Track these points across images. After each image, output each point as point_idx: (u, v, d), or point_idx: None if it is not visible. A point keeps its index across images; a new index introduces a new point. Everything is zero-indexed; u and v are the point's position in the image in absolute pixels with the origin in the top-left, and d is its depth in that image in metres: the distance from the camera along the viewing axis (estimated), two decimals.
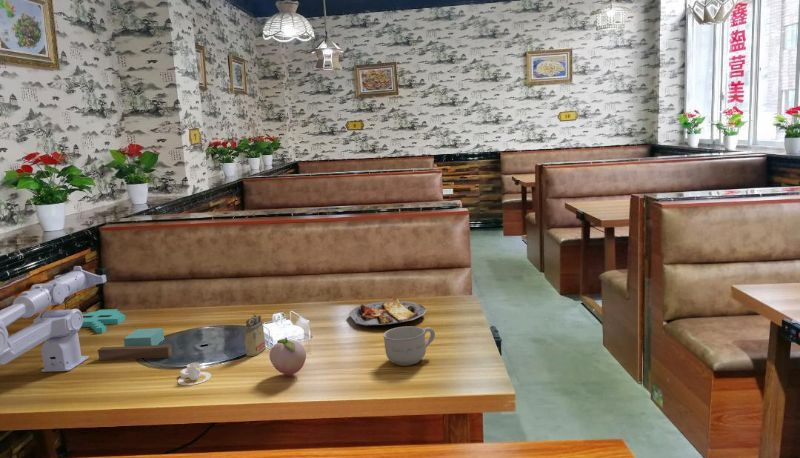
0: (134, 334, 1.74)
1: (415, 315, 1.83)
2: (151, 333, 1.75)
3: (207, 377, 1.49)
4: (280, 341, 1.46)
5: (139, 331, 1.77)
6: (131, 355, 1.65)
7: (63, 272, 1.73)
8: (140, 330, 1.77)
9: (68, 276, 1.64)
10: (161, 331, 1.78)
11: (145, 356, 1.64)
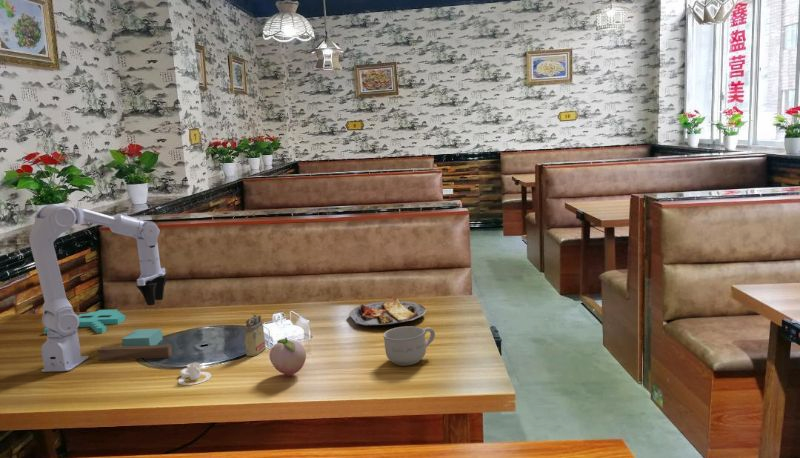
0: (132, 334, 1.74)
1: (415, 315, 1.83)
2: (150, 333, 1.74)
3: (207, 377, 1.49)
4: (280, 341, 1.46)
5: (137, 332, 1.76)
6: (131, 355, 1.65)
7: None
8: (139, 331, 1.77)
9: (158, 254, 1.82)
10: (159, 331, 1.77)
11: (145, 356, 1.64)
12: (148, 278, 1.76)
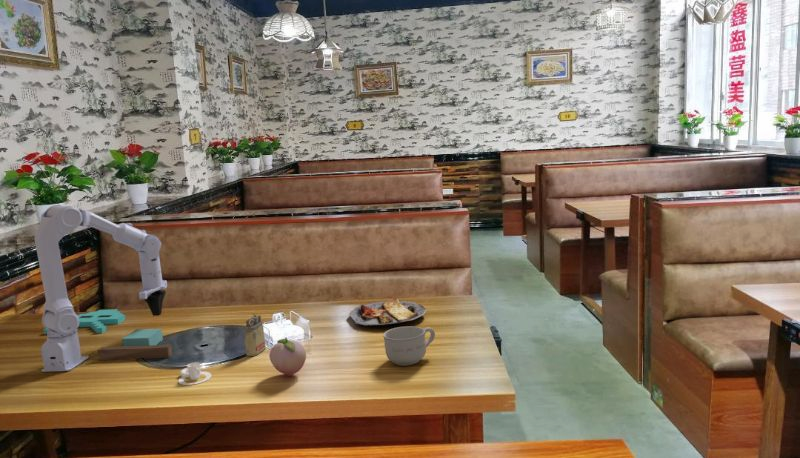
0: (132, 334, 1.74)
1: (415, 315, 1.83)
2: (149, 333, 1.74)
3: (207, 377, 1.49)
4: (280, 341, 1.46)
5: (137, 332, 1.76)
6: (131, 355, 1.65)
7: None
8: (139, 331, 1.77)
9: (160, 267, 1.82)
10: (160, 331, 1.77)
11: (145, 356, 1.64)
12: (150, 291, 1.77)
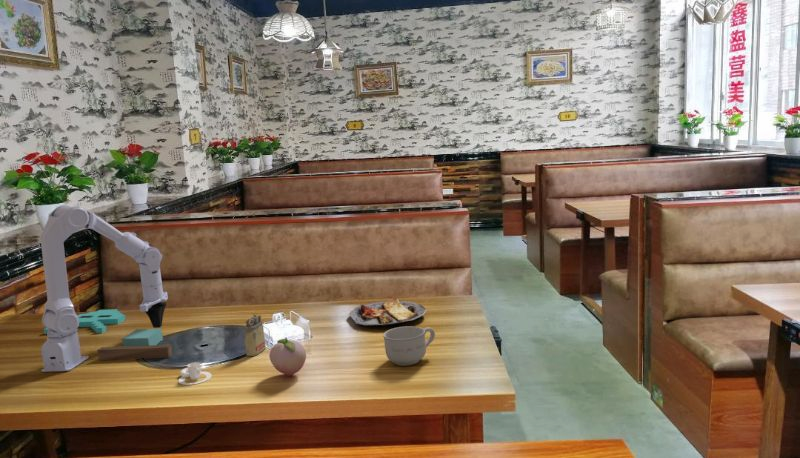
0: (132, 334, 1.74)
1: (415, 315, 1.83)
2: (149, 333, 1.74)
3: (207, 377, 1.49)
4: (280, 341, 1.46)
5: (137, 332, 1.76)
6: (131, 355, 1.65)
7: None
8: (139, 331, 1.77)
9: None
10: (160, 331, 1.77)
11: (145, 356, 1.64)
12: (151, 304, 1.77)
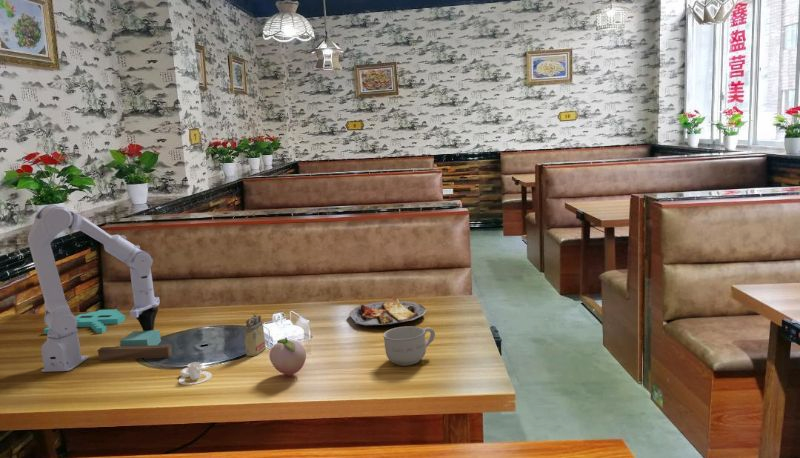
0: (130, 336, 1.72)
1: (415, 315, 1.83)
2: (148, 335, 1.73)
3: (208, 377, 1.49)
4: (280, 341, 1.46)
5: (135, 333, 1.74)
6: (131, 355, 1.65)
7: None
8: (137, 332, 1.75)
9: (152, 284, 1.76)
10: (158, 333, 1.76)
11: (145, 356, 1.64)
12: (141, 309, 1.72)
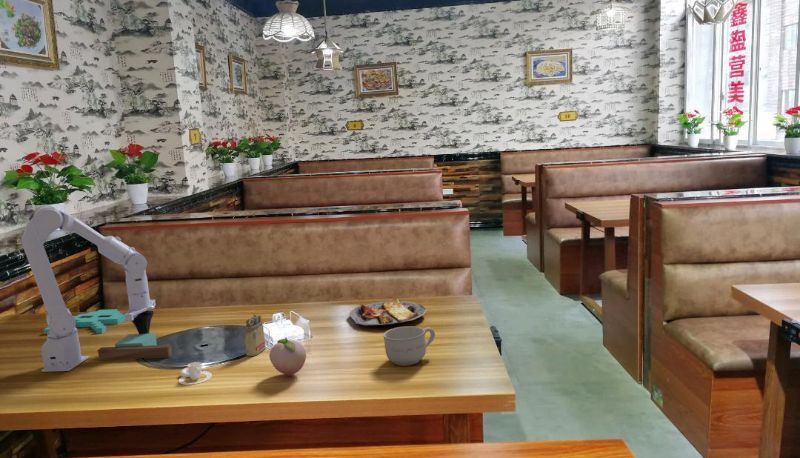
0: (125, 339, 1.70)
1: (415, 315, 1.83)
2: (143, 338, 1.70)
3: (208, 376, 1.49)
4: (280, 341, 1.46)
5: (130, 337, 1.72)
6: (131, 355, 1.65)
7: None
8: (132, 335, 1.73)
9: None
10: (153, 336, 1.73)
11: (145, 356, 1.64)
12: (137, 312, 1.69)
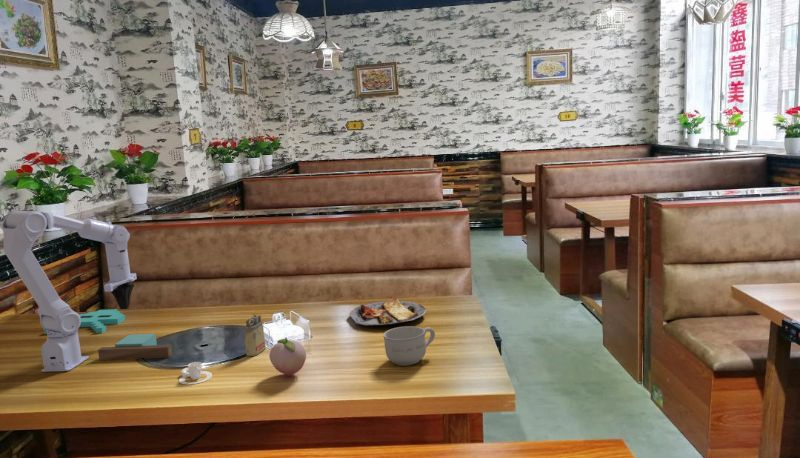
0: (125, 340, 1.70)
1: (415, 315, 1.83)
2: (143, 339, 1.70)
3: (208, 376, 1.49)
4: (280, 341, 1.46)
5: (130, 337, 1.72)
6: (131, 355, 1.65)
7: None
8: (132, 336, 1.73)
9: None
10: (154, 337, 1.73)
11: (145, 356, 1.64)
12: (116, 284, 1.72)
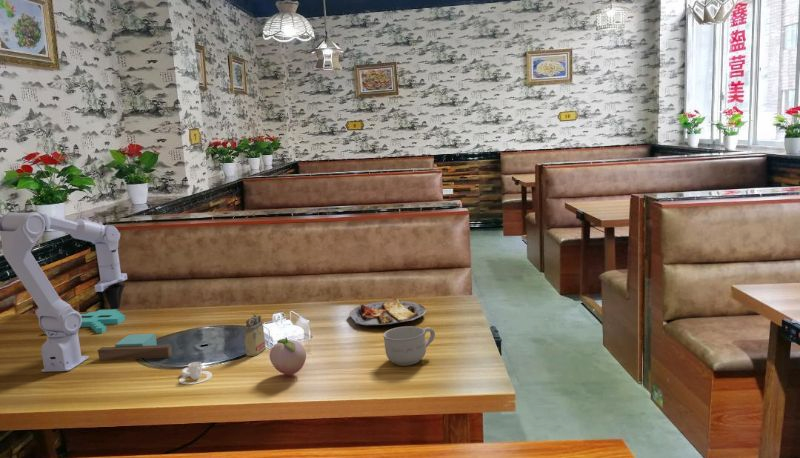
0: (125, 340, 1.70)
1: (415, 315, 1.83)
2: (143, 338, 1.70)
3: (208, 376, 1.49)
4: (280, 341, 1.46)
5: (130, 337, 1.72)
6: (131, 355, 1.65)
7: None
8: (132, 336, 1.73)
9: None
10: (154, 337, 1.73)
11: (145, 356, 1.64)
12: (107, 284, 1.72)
